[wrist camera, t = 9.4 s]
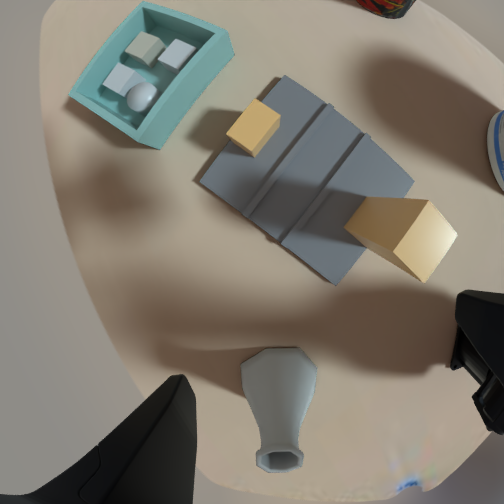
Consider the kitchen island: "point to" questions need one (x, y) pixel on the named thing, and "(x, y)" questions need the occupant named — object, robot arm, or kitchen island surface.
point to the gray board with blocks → (324, 187)
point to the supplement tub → (497, 146)
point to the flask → (279, 403)
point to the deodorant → (387, 7)
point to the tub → (152, 71)
